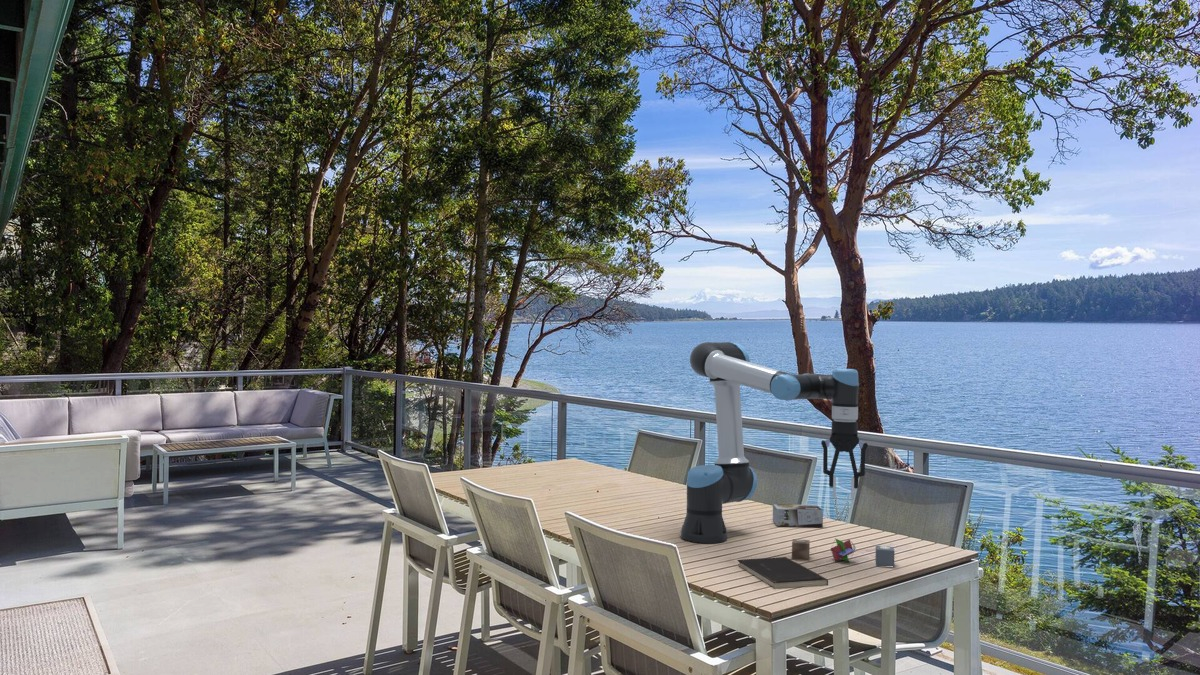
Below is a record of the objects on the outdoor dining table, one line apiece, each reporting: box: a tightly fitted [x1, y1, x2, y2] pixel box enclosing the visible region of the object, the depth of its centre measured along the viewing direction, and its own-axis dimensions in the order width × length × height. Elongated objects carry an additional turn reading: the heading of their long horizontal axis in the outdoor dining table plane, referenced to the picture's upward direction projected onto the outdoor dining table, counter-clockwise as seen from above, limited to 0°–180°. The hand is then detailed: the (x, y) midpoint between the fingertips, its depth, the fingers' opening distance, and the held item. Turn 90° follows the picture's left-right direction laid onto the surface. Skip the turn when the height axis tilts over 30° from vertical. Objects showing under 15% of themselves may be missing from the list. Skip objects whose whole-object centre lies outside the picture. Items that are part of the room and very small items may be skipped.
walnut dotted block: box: [791, 538, 811, 561], centre depth 256 cm, size 5×5×5 cm
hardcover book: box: [737, 556, 829, 589], centre depth 237 cm, size 16×23×2 cm
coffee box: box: [772, 503, 824, 528], centre depth 302 cm, size 9×6×16 cm
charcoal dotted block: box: [874, 545, 895, 568], centre depth 250 cm, size 5×5×5 cm
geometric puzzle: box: [830, 538, 857, 564], centre depth 253 cm, size 7×7×8 cm
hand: (843, 498), depth 253 cm, fingers open, 4 cm apart
